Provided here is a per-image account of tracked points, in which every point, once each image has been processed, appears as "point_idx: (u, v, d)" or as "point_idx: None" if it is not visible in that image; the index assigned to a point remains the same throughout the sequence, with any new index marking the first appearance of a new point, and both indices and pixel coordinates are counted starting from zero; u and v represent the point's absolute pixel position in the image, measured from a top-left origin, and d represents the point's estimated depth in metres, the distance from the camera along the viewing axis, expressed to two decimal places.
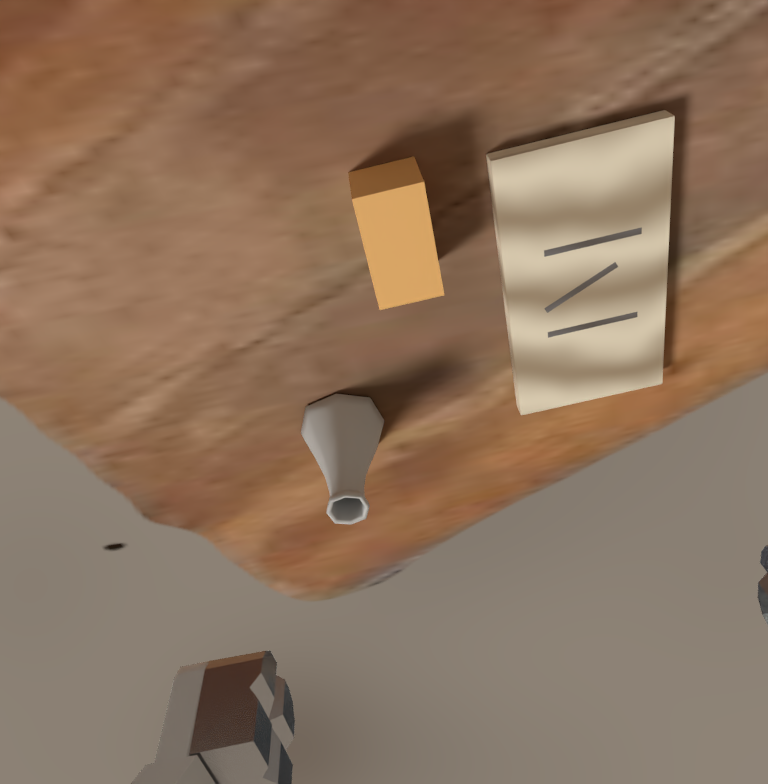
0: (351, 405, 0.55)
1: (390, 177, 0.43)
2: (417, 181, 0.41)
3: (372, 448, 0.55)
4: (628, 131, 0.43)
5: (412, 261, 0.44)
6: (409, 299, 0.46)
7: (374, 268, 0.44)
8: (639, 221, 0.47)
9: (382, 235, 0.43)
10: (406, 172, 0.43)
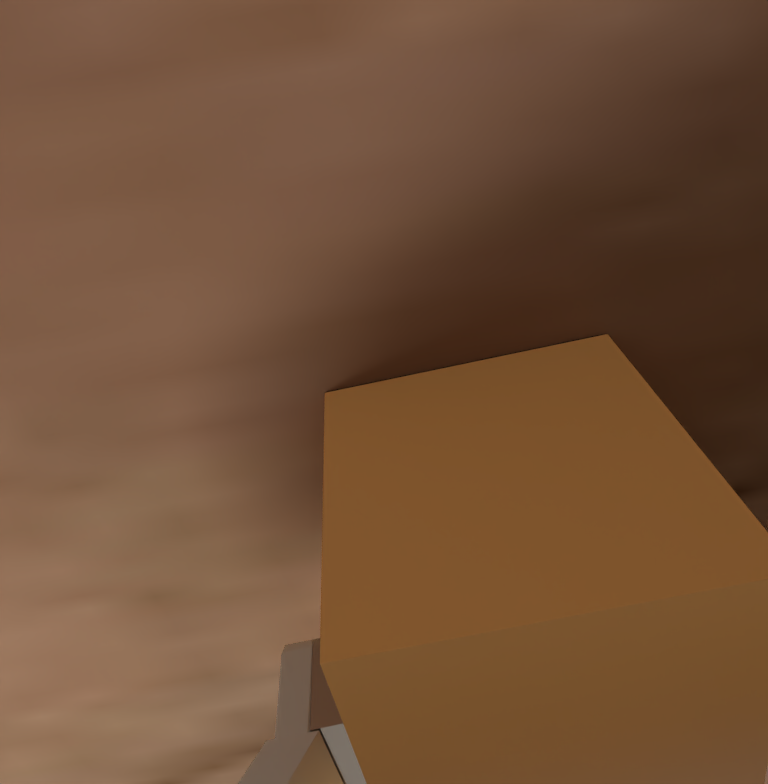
0: None
1: (534, 475, 0.08)
2: (741, 556, 0.06)
3: None
4: None
5: None
6: None
7: None
8: None
9: None
10: (621, 448, 0.08)
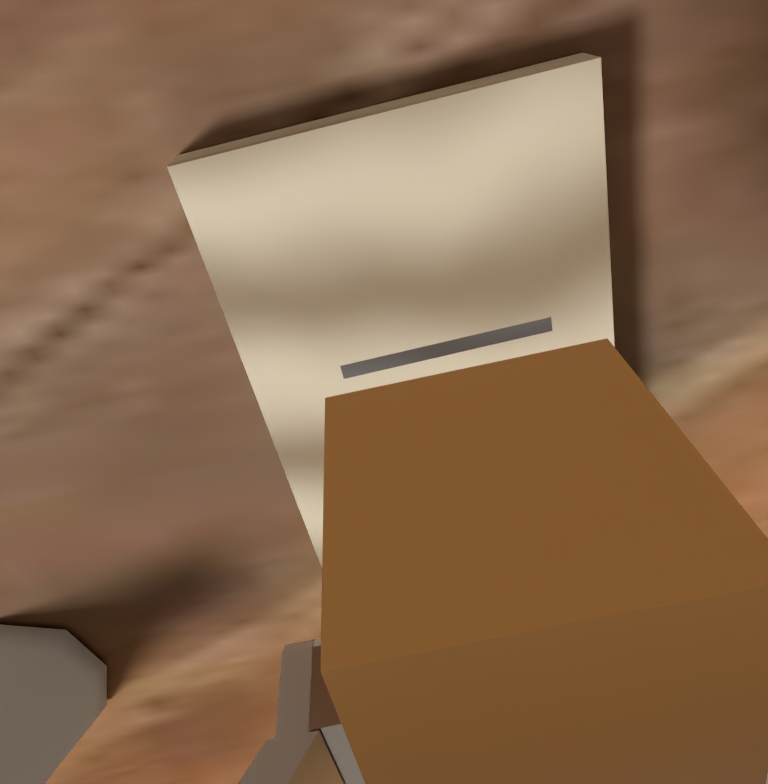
0: (18, 651, 0.28)
1: (535, 480, 0.08)
2: (742, 562, 0.06)
3: (50, 741, 0.28)
4: (491, 95, 0.18)
5: None
6: None
7: None
8: (544, 304, 0.21)
9: None
10: (621, 454, 0.08)
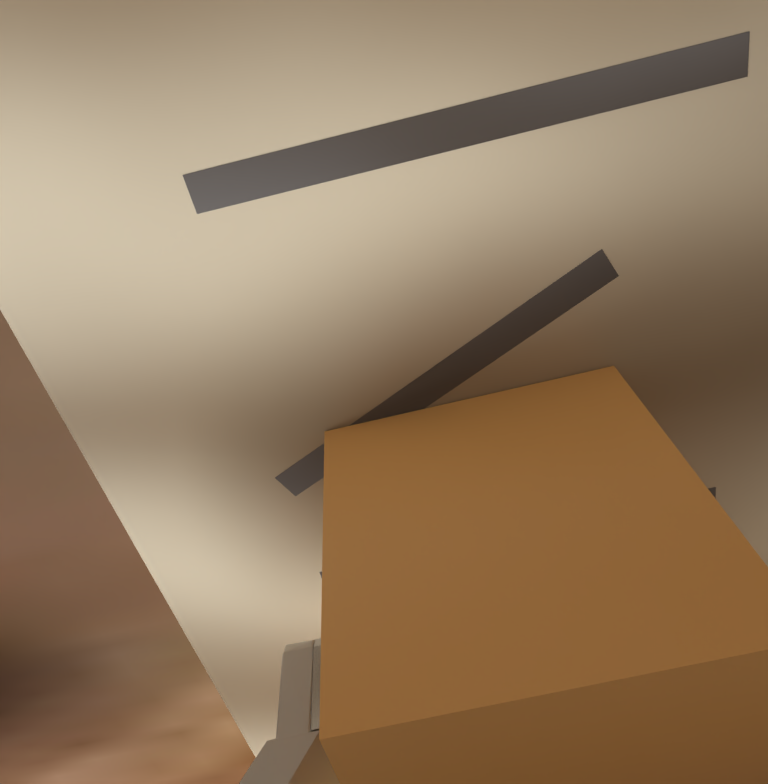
0: None
1: (541, 523, 0.08)
2: (759, 618, 0.06)
3: None
4: None
5: None
6: None
7: None
8: None
9: None
10: (629, 494, 0.08)
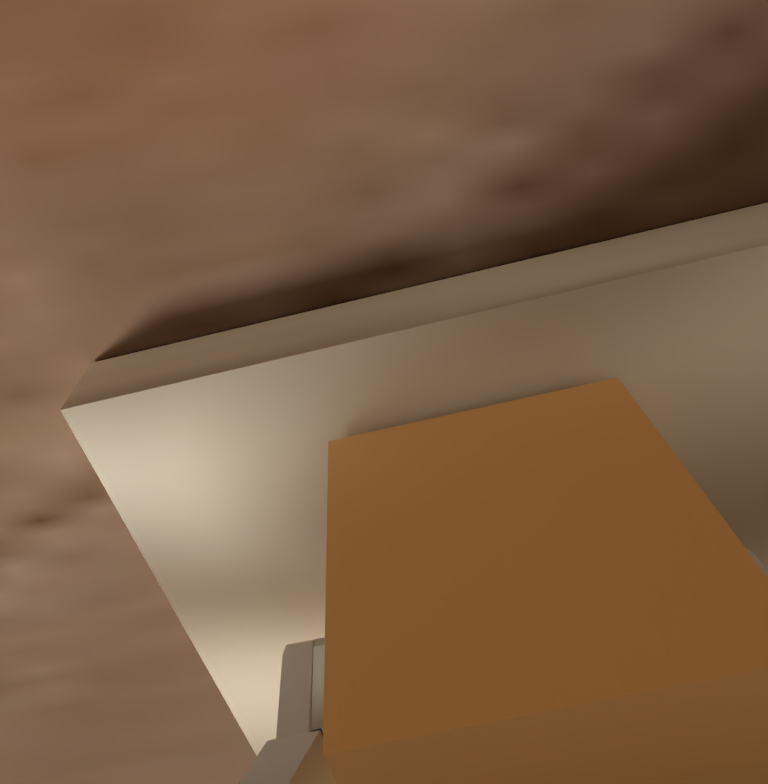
0: None
1: (545, 537, 0.08)
2: (764, 636, 0.06)
3: None
4: (662, 286, 0.10)
5: None
6: None
7: None
8: None
9: None
10: (633, 509, 0.08)
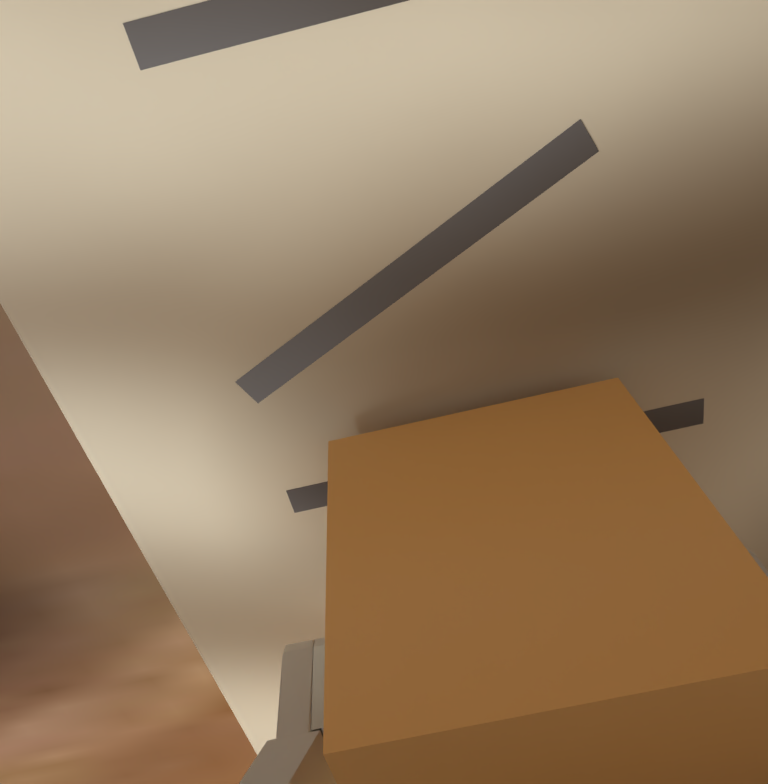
0: None
1: (545, 537, 0.08)
2: (765, 635, 0.06)
3: None
4: None
5: None
6: None
7: None
8: None
9: None
10: (633, 509, 0.08)
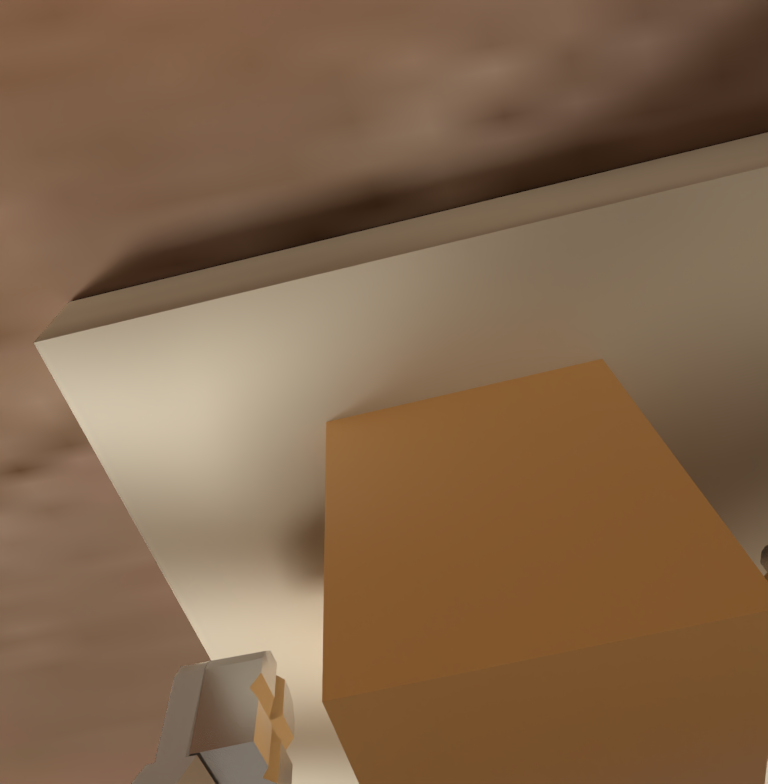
0: None
1: (530, 506, 0.08)
2: (730, 589, 0.07)
3: None
4: (648, 213, 0.09)
5: None
6: None
7: None
8: None
9: None
10: (614, 479, 0.08)
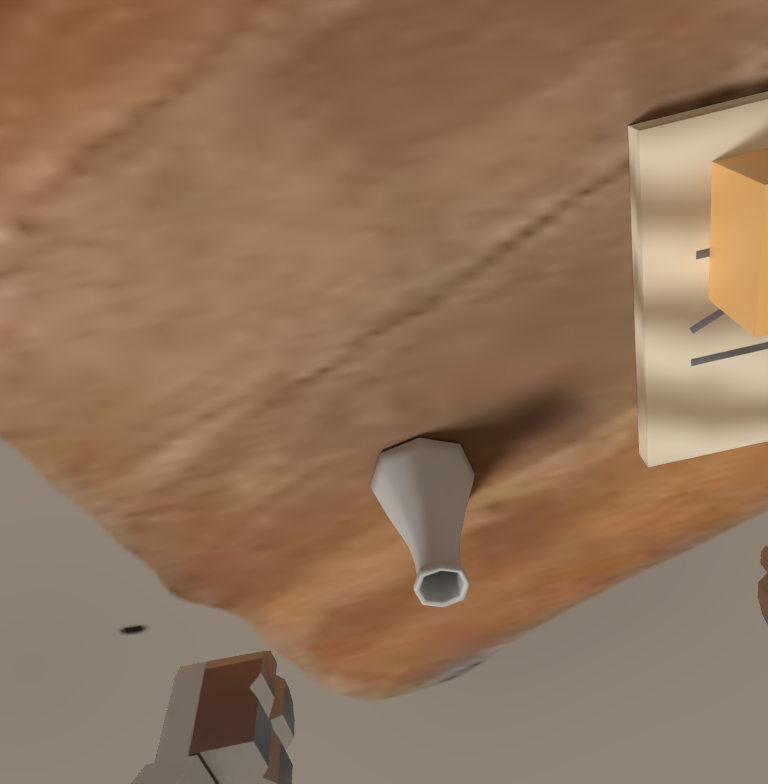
0: (437, 453, 0.44)
1: None
2: None
3: (464, 508, 0.43)
4: None
5: None
6: None
7: (765, 280, 0.33)
8: None
9: None
10: None
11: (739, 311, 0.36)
